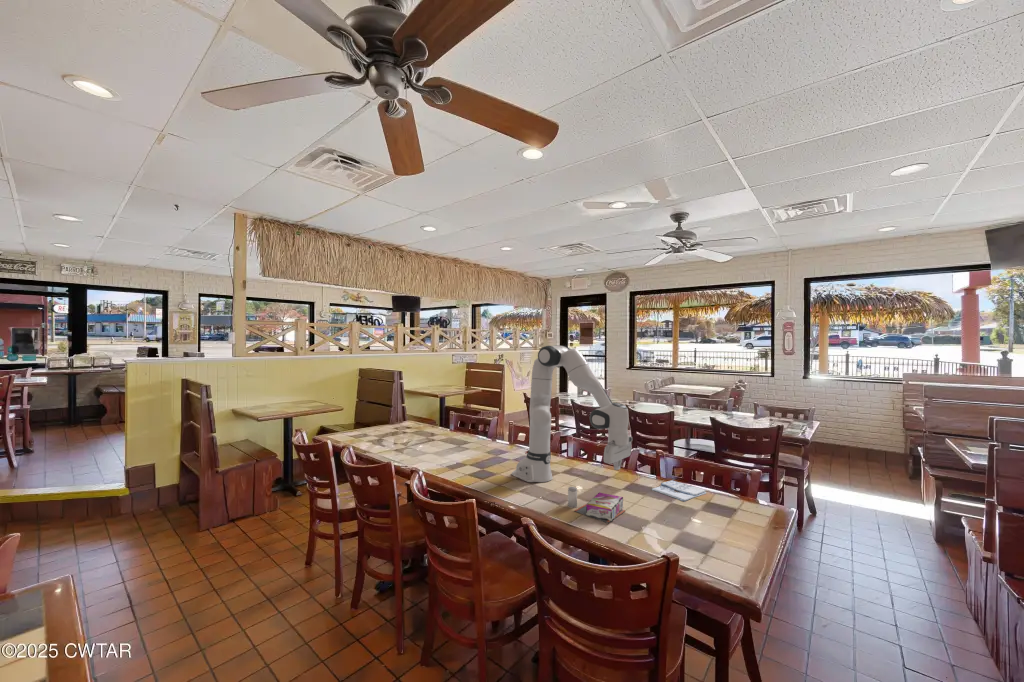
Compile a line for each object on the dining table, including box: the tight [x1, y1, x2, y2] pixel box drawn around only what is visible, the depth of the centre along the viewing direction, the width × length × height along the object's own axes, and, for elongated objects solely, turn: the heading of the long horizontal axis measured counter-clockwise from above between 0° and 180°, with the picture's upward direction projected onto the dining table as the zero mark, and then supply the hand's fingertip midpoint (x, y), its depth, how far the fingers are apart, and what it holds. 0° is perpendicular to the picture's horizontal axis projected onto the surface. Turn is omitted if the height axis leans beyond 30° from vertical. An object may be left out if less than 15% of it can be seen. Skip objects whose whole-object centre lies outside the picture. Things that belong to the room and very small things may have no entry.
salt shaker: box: [567, 486, 578, 509], centre depth 179 cm, size 4×4×8 cm
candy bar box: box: [585, 492, 624, 522], centre depth 172 cm, size 11×5×16 cm
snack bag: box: [650, 480, 708, 503], centre depth 198 cm, size 19×20×2 cm
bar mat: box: [574, 503, 626, 524], centre depth 173 cm, size 16×15×1 cm
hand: (617, 469), depth 185 cm, fingers closed
